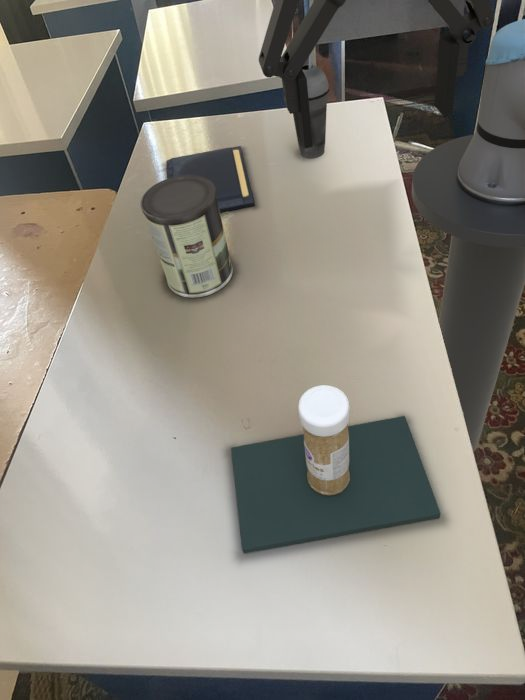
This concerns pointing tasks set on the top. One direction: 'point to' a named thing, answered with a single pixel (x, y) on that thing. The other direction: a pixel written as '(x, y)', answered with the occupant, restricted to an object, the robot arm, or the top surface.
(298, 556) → the top surface
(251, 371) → the top surface
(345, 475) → the sprinkles bottle
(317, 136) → the beverage cup
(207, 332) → the top surface
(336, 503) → the dark green mat
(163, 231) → the coffee can
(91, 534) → the top surface
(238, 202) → the dark blue book
